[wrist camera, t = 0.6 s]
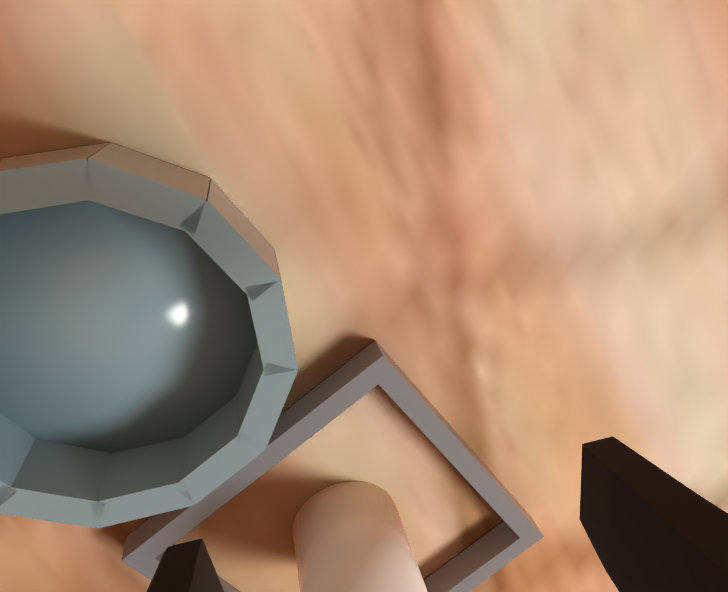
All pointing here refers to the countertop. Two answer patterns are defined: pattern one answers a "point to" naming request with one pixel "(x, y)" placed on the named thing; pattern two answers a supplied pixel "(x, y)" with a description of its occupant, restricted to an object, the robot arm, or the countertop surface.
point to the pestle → (353, 542)
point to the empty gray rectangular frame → (312, 415)
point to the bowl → (131, 337)
